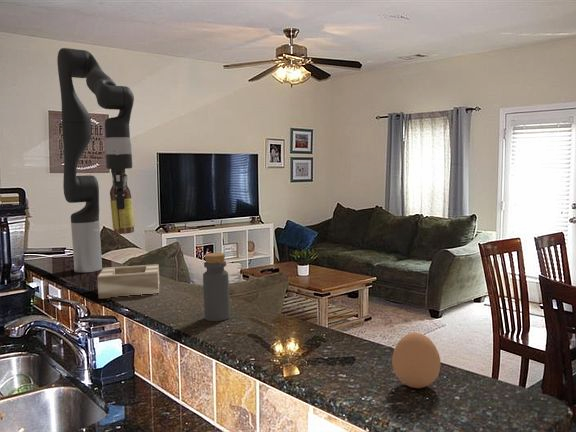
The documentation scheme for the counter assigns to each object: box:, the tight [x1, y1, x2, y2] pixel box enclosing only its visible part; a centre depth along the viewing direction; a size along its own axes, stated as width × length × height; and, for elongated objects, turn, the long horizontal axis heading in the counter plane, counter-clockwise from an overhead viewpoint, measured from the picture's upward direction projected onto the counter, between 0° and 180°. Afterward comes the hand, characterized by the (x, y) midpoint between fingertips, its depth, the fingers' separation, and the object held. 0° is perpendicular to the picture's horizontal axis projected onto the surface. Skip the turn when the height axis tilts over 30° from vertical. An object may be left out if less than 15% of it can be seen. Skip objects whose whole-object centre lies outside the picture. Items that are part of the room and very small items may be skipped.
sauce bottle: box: [109, 169, 135, 235], centre depth 164 cm, size 6×6×20 cm
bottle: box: [202, 252, 231, 322], centre depth 125 cm, size 6×6×15 cm
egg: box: [391, 332, 441, 389], centre depth 84 cm, size 7×7×8 cm
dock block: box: [96, 263, 161, 300], centre depth 156 cm, size 14×16×6 cm
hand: (121, 208), depth 164 cm, fingers closed on sauce bottle, 6 cm apart
